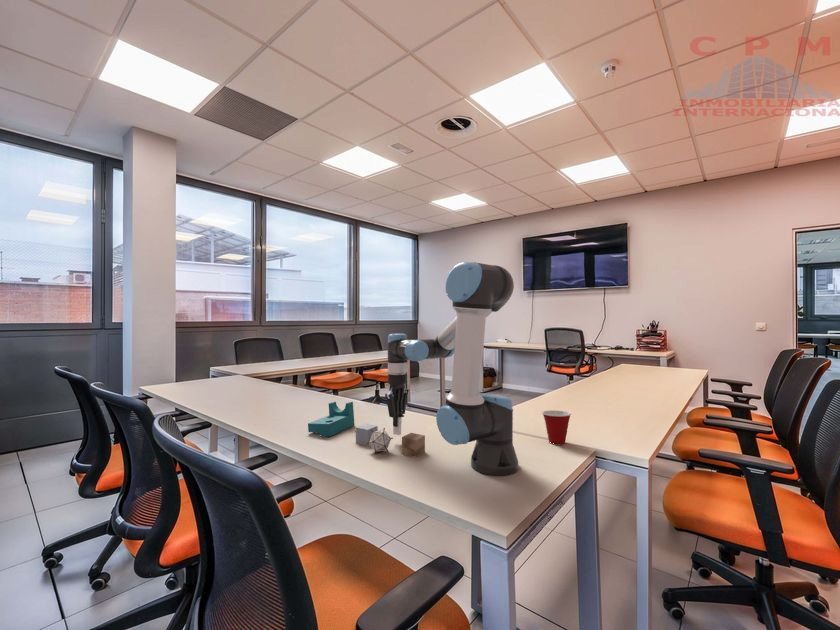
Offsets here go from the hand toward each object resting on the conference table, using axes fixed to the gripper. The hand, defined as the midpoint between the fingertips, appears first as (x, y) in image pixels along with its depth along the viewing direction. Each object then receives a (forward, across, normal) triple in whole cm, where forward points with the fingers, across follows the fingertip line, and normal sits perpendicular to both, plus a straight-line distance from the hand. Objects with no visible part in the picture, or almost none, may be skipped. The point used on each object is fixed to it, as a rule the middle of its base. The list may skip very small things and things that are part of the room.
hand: (397, 434), depth 141 cm
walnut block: (+4, +5, +11) cm, 13 cm away
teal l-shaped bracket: (+4, +1, -34) cm, 34 cm away
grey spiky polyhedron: (+4, +11, 0) cm, 11 cm away
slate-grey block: (+4, +5, -11) cm, 13 cm away
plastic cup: (+4, -33, +53) cm, 62 cm away
